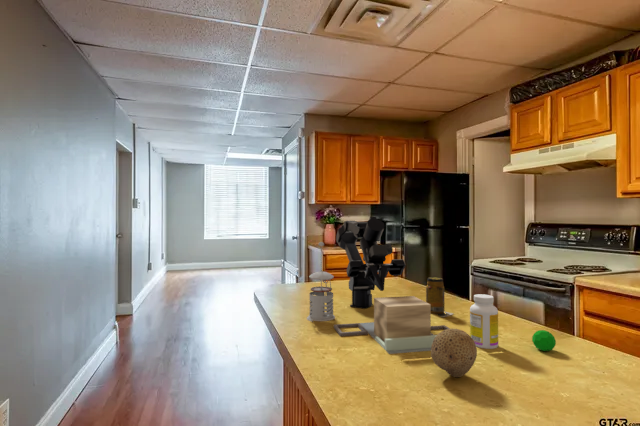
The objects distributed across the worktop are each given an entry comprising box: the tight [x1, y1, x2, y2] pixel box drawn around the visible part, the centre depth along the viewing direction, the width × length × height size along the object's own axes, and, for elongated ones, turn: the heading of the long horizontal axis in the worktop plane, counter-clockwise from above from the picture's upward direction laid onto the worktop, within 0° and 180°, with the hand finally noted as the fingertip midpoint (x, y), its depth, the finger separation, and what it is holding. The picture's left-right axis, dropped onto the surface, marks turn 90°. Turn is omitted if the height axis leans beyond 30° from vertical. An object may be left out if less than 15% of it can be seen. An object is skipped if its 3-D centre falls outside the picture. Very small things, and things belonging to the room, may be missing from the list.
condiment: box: [425, 276, 454, 318], centre depth 125 cm, size 7×8×12 cm
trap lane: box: [333, 321, 451, 355], centre depth 101 cm, size 25×32×3 cm
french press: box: [306, 241, 336, 323], centre depth 120 cm, size 10×12×25 cm
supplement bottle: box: [469, 293, 499, 350], centre depth 94 cm, size 7×7×13 cm
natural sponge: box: [430, 328, 478, 378], centre depth 76 cm, size 9×9×10 cm
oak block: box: [373, 295, 432, 343], centre depth 99 cm, size 10×12×10 cm
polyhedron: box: [531, 329, 557, 352], centre depth 91 cm, size 5×5×5 cm
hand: (382, 290), depth 113 cm, fingers closed
